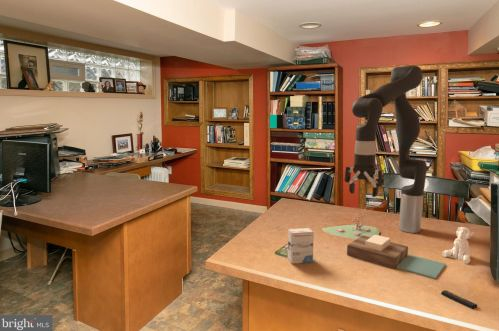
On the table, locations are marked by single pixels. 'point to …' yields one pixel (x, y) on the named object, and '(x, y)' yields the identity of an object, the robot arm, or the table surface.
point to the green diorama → (352, 230)
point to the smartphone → (283, 251)
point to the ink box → (300, 245)
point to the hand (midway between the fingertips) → (363, 195)
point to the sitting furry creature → (460, 246)
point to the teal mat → (421, 266)
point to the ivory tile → (377, 242)
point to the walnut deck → (378, 252)
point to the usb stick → (459, 299)
